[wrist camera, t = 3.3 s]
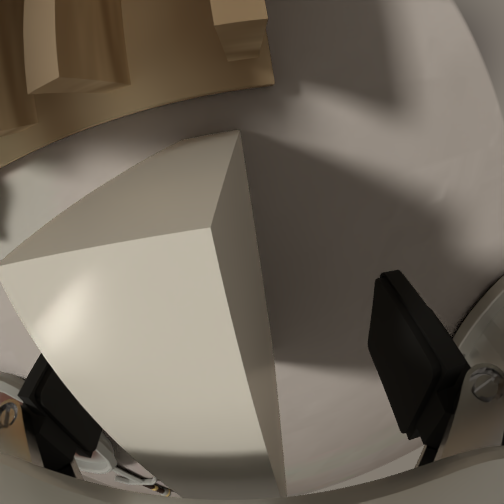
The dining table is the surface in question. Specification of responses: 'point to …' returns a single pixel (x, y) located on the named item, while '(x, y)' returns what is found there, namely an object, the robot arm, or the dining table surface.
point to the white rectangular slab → (163, 319)
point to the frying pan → (102, 458)
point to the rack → (119, 61)
